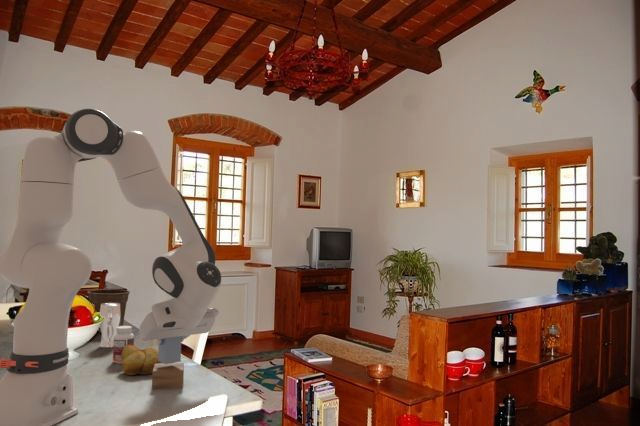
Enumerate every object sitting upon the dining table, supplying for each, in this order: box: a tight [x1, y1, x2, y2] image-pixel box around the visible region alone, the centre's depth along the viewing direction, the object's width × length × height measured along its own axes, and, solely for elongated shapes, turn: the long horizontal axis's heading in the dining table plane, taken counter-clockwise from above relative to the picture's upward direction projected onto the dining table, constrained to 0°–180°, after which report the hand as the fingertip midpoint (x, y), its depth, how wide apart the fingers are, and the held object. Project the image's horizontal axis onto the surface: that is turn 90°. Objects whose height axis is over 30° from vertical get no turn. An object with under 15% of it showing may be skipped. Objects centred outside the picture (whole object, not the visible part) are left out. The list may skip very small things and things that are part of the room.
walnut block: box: [151, 362, 185, 390], centre depth 144 cm, size 8×8×5 cm
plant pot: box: [87, 288, 131, 334], centre depth 214 cm, size 16×16×16 cm
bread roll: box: [121, 344, 162, 376], centre depth 155 cm, size 13×10×8 cm
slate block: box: [157, 336, 182, 364], centre depth 144 cm, size 4×4×9 cm
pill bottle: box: [112, 325, 135, 365], centre depth 166 cm, size 6×6×11 cm
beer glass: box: [99, 303, 120, 349], centre depth 187 cm, size 7×7×15 cm
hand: (168, 341), depth 145 cm, fingers closed on slate block, 4 cm apart
